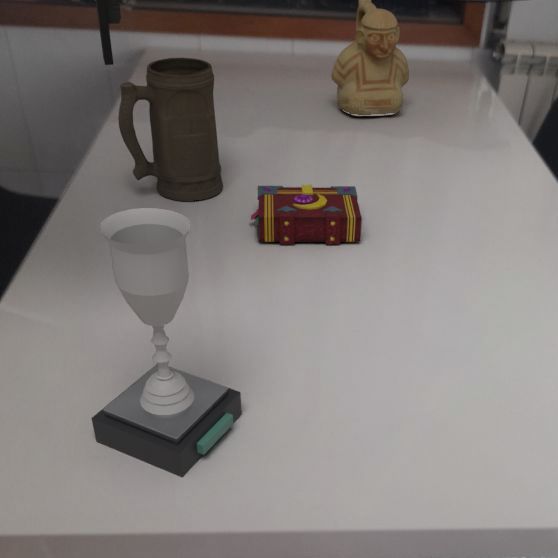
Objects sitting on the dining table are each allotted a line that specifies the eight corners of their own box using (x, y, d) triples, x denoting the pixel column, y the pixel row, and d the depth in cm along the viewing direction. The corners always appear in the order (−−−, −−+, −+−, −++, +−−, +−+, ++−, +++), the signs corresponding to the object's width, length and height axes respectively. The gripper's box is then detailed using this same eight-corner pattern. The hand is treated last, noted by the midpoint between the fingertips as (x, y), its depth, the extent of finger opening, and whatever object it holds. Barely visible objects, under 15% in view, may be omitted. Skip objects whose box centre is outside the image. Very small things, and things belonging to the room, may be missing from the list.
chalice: (113, 408, 67) (80, 233, 57) (155, 368, 72) (132, 201, 62) (180, 430, 65) (160, 252, 55) (219, 388, 70) (206, 218, 60)
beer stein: (203, 170, 125) (187, 50, 113) (239, 189, 119) (226, 65, 106) (123, 197, 117) (96, 70, 105) (158, 219, 111) (133, 88, 98)
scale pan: (103, 414, 67) (102, 409, 67) (159, 368, 74) (159, 362, 73) (177, 444, 64) (176, 438, 64) (229, 392, 71) (228, 387, 70)
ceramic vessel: (340, 125, 148) (346, -8, 134) (321, 97, 164) (324, -25, 149) (418, 123, 152) (432, -7, 138) (392, 96, 167) (402, -24, 153)
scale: (96, 441, 69) (91, 418, 67) (161, 385, 76) (158, 362, 74) (188, 480, 65) (185, 456, 63) (247, 417, 73) (246, 393, 71)
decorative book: (361, 245, 105) (363, 214, 102) (249, 245, 103) (248, 213, 100) (353, 212, 114) (355, 182, 111) (251, 212, 112) (250, 181, 109)
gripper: (-247, -264, 46) (-137, 78, 58) (153, -225, 53) (175, 70, 66) (-215, -257, 51) (-121, 53, 64) (142, -223, 59) (165, 49, 71)
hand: (29, 63), depth 65 cm, fingers open, 13 cm apart
